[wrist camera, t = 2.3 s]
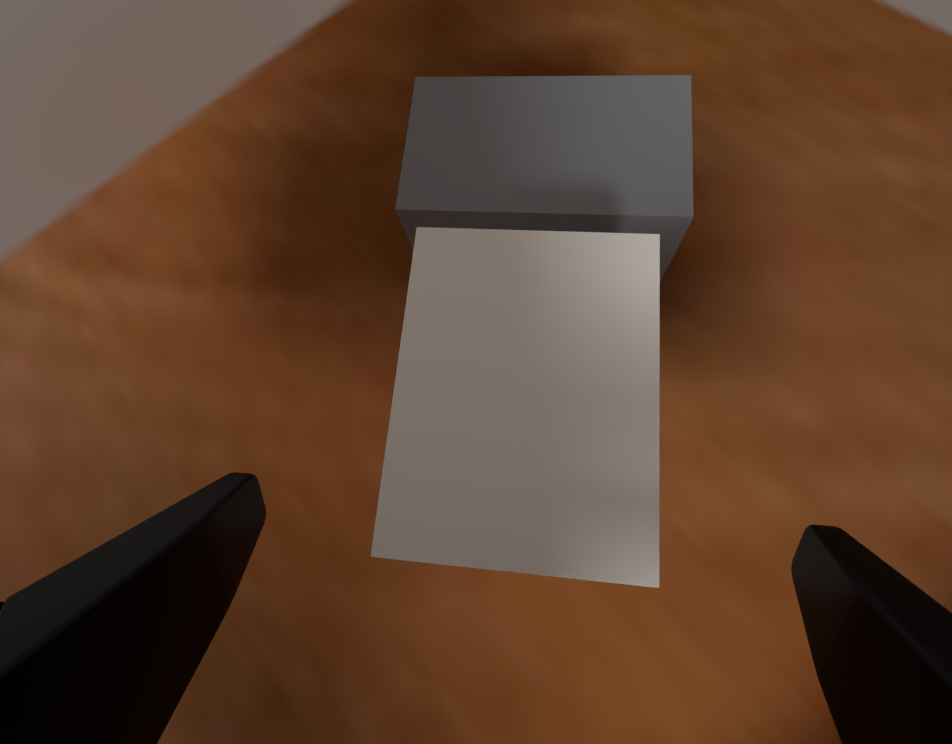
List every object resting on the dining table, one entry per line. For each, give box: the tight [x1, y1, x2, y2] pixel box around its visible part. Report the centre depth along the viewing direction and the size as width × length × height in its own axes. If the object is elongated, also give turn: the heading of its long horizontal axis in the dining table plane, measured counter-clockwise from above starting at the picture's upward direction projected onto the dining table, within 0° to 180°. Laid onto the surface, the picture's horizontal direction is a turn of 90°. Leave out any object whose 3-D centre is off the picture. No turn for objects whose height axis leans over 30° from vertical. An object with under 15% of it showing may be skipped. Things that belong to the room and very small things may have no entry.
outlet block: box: [395, 75, 694, 282], centre depth 17 cm, size 4×7×8 cm, turn 85°
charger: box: [370, 227, 660, 588], centre depth 14 cm, size 10×4×10 cm, turn 175°
